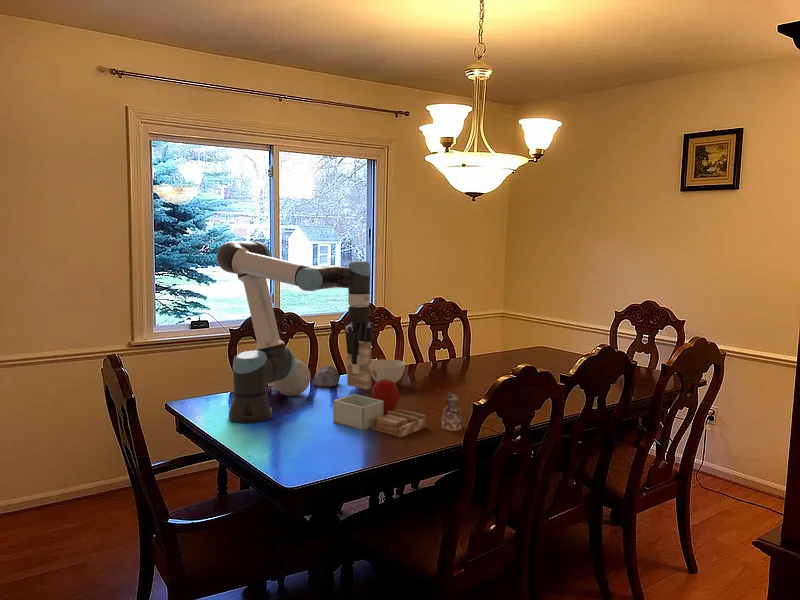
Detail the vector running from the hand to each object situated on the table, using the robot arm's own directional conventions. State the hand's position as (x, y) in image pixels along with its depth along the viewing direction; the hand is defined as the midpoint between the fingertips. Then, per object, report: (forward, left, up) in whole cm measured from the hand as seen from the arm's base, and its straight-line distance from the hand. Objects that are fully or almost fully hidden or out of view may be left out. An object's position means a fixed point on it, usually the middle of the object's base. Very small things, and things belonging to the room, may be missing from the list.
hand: (359, 372), depth 218 cm
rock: (+31, +47, -19) cm, 60 cm away
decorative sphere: (+10, +46, -19) cm, 50 cm away
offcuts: (+2, -14, -17) cm, 23 cm away
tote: (0, 0, -18) cm, 18 cm away
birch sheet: (0, 0, -5) cm, 5 cm away
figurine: (+17, -28, -19) cm, 38 cm away
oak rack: (+4, -14, -18) cm, 24 cm away
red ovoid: (+15, 0, -19) cm, 24 cm away
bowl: (+48, +27, -19) cm, 59 cm away
